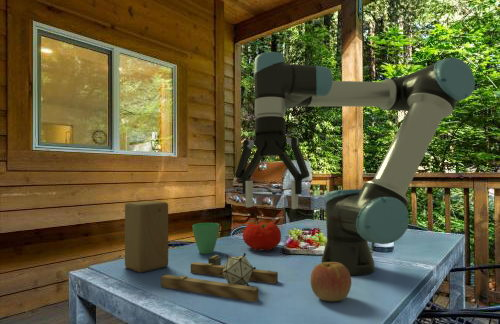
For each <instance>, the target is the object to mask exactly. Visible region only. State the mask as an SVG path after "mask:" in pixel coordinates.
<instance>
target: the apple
mask: <svg viewBox="0 0 500 324" xmlns="http://www.w3.org/2000/svg"><path fill="white" fill-rule="evenodd" d="M351 276H352V275H350V273H349V271H348V269H347V268H346V267H345V266H344V265H342V264H340V263H337V262H324V263H318V264H317V265H315V266H314V267H313V269H312V270H311V274H310V286H311V290H312V293H313V294H314V295H315V296H316V297H317V298H318V299H319V300H322V301H326V302H339V301H343V300H344V299H346V298H347V297H348V295H349V293H350V291H351V288H352V277H351Z"/></svg>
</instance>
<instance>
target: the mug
mask: <svg viewBox="0 0 500 324" xmlns="http://www.w3.org/2000/svg"><path fill="white" fill-rule="evenodd" d="M192 231H193V236H194V240H195V244H196V247H197V250H198V252H199V254H202V255H208V254H212V253H214V250H215V247H216V244H217V241H218V237H219V231H220V224H219V223H217V222H199V223H194V224H192Z"/></svg>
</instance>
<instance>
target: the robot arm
mask: <svg viewBox="0 0 500 324" xmlns="http://www.w3.org/2000/svg"><path fill="white" fill-rule="evenodd" d="M253 77H254V78H253V80H254V81H253V82H254V117H256V118H255V120H254V133H255V137H254V139H252V140H247V139H244V140H242V144H243V145H242V152H241V155H240V159H239V160H238V161H239V162H238V164H237V168H236V172H235V174H234V176H235V178H236V179H240V180H241V182H242V194H245V208H253V206H254V184H253V182H254V180H251V178H252V177H253V175H254V172H255V171H256V169H257V168H258V167H259V165H260V163H261V161H262V159H263V158H264V157H270V156H276V157H279V158H280V159H281V161H282V162H283V164H284V165H285V167H286V169H287V170H288V171H289V173H290V175H291V176H292V177H293V180H291V181H290V182H291V184H290V185H291V188H290V189H291V198H290V199H291V209H292V210H296V209H299V195H301V194H302V192H303V189H302V188H303V185H302V184H303V180H304V179H307V178H309V177H310V172H309V170H308V166H307V164H306V161H305V159H304V156H303V154H302V151H301V149H300V139H299V138H298V137H296V136H292V137H287V135H286V134H287V131H286V130H287V129H286V128H287V127H286V126H287V122H286V118H285V116H286V110H288V109H293V108H295V107H347V108H348V107H351V108H353V107H358V108H361V107H363V108H365V107H366V108H367V107H368V108H369V107H371V108H373V107H375V108H378V107H379V108H380V110H383V111H400V112H401V111H404V112H405V111H406V114H405V116H404V118H403V119H402V122H401V124H400V126H399V127H398V129H397V132H396V134H395V136H394V137H393V140H392V141H391V144H390V146H389V148H388V150H387V151H386V154H385V155H384V157H383V159H382V161H381V163H380V165H379V168H378V169H377V171H376V173H375V175H374V177H373V179H372V180H368V181H365V182H364V183H363V185H362V187H361V189H360V188H354V189H353V188H351V189H338V190H337V189H335V190H330V191H329V192H327V193H326V195H325V196H326V197H325V213H326V214H325V217H326V218H325V219H326V242H325V243H326V244H325V246H324V250H323V253H322V256H321V261H320V262H321V263H324V262H337V263H340V264H342V265H344V266H345V267H346V268H347V269H348V271H349V273H350V276H362V275H363V276H364V275H369V274H372V273H374V271H375V260H374V257H373V255H372V251H371V248H370V246H369V243H373V244H378V245H379V244H380V245H388V244H392V243H394V242H396V241H399V239H401V238H402V237H403V235H405V233H406V231H407V230H408V227H409V223H410V217H409V210H408V208H407V206H408V204H409V200H408V197H407V195H406V194H407V191H408V189H409V188H410V185H411V183H412V181H413V179H414V177H415V175H416V173H417V171H418V169H419V166H420V165H421V162H422V161H423V159H424V157H425V156H426V155H425V154H426V152H427V151H428V149H429V147H430V145H431V143H432V140H433V138H434V137H435V134H436V132H437V131H438V128H439V127H440V124H441V122H442V120H443V119H445V118H448V117H450V116H451V115H452V113H453V112H454V110H455V108H456V107H457V106H456V105H457V104H458V102H459V101H464V100H466V99H467V98H469V97H470V96H471V95H472V94H473V93H474V90H475V87H476V86H475V85H476V81H475V76H474V74H473V70H472V69H471V67H470V65H468V63H466V61H464V60H462V59H461V58H457V57H447V58H444V59H440V60H437V61H435V63H432V64H430V65H428V66H425V67H423V68H421V69H419V70H416V71H413V72H412V73H409V74H406V75H404V76H401V77H396V78H386V79H383V80H382V81H358V80H357V81H354V80H350V81H348V80H333V73H332V71H331V68H329V67H327V66H321V65H317V64H316V65H309V64H290V63H286V60H285V56H284V54H283V53H280V52H277V51H267V52H262V53H259V54H258V55H257V56H256V57H255V58H254V71H253ZM287 144H288V146H289V147H290V148H291V150H292V153H293V155H294V159H295V161H296V163H297V167H298V168H297V167H296V166H295V164H294V163H293V161H292V160H291V158H290V157H289V156H288V152H287V151H286V150H285V148H286V146H287ZM254 146H255V148H256V150H255V152H254V154H253V157H252V159H251V160H250V162H249V159H250V156H251V153H252V149H253V148H254ZM248 163H249V164H248Z"/></svg>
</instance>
